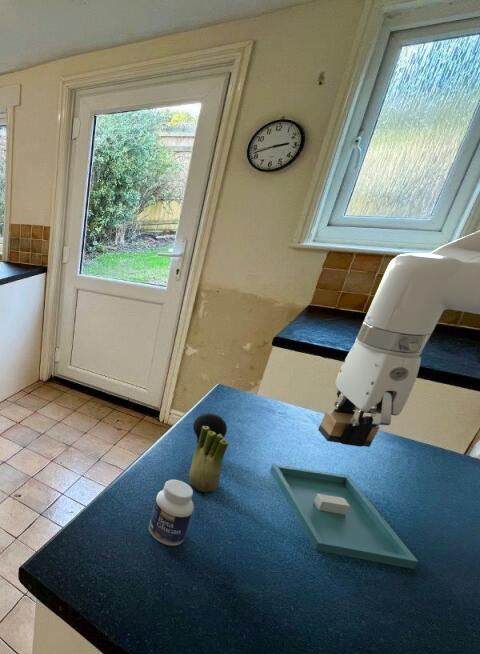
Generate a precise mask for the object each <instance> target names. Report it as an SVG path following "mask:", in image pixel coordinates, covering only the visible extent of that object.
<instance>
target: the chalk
mask: <svg viewBox="0 0 480 654" xmlns="http://www.w3.org/2000/svg"><path fill="white" fill-rule="evenodd" d="M314 504H315V505H316V507H317V509H318V510H321V511H327V512H333V513H338V514H344V515H346V513H347V511H348V509H349V507H350V505H349V504H348V503H347V501H346V500H345V499H344V498H340V497H334V496H328V495H322V494H317V496H316V498H315V500H314Z"/></svg>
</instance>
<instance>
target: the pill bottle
mask: <svg viewBox="0 0 480 654" xmlns="http://www.w3.org/2000/svg"><path fill="white" fill-rule="evenodd" d="M193 496H194V491H193V487H192V486H191V485H190V484H188V483H186V482H184V481H182V480H179V479H169V480H167V481H165V483H164V486H163V489H162V490H160V491H158V493H157V495H156V497H155V501H154V505H153V508H152V512H151V516H150V520H149V524H148V530H149V533H150V535H151V536H152V537H153V538H154V539H155V540H156V541H157V542H159V543H161V544H163V545H167V546H173V547H174V546H179V545H181V544H182V543H184V540H185V538H186V534H187V531H188V528H189V525H190V521H191V519H192V516H193V513H194V509H195V506H194V502H193V500H192V499H193Z"/></svg>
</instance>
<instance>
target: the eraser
mask: <svg viewBox="0 0 480 654" xmlns="http://www.w3.org/2000/svg"><path fill="white" fill-rule="evenodd" d="M353 416H354V414H348V413H340V412H333V411H330V410H326V411H325V413H324V415H323V416H322V417H323V418H322V420H321V422H320V424H319V426H318V428H317V431H318V432H319V434H320V435H321V436H323V438H324V439H325V440H326V441H327V442H330V443H338V444H341V443H340V442H339V440H340V438H341V436H342V434H343V431H344V429H345V427H346V425H347V423H348V422H350V423H352V419H353ZM366 416H367V415H364V414H363V417H366ZM363 417H362V418H363ZM379 429H380V425H379V426H376V428H372V430H371V432H370V434H369V436H368V438H367V440H366V442H365V444H364V445H363V446H362V447H367V448H371V445H372V443H373V441H374V439H375V437H376V435H377V433H378V431H379Z"/></svg>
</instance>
